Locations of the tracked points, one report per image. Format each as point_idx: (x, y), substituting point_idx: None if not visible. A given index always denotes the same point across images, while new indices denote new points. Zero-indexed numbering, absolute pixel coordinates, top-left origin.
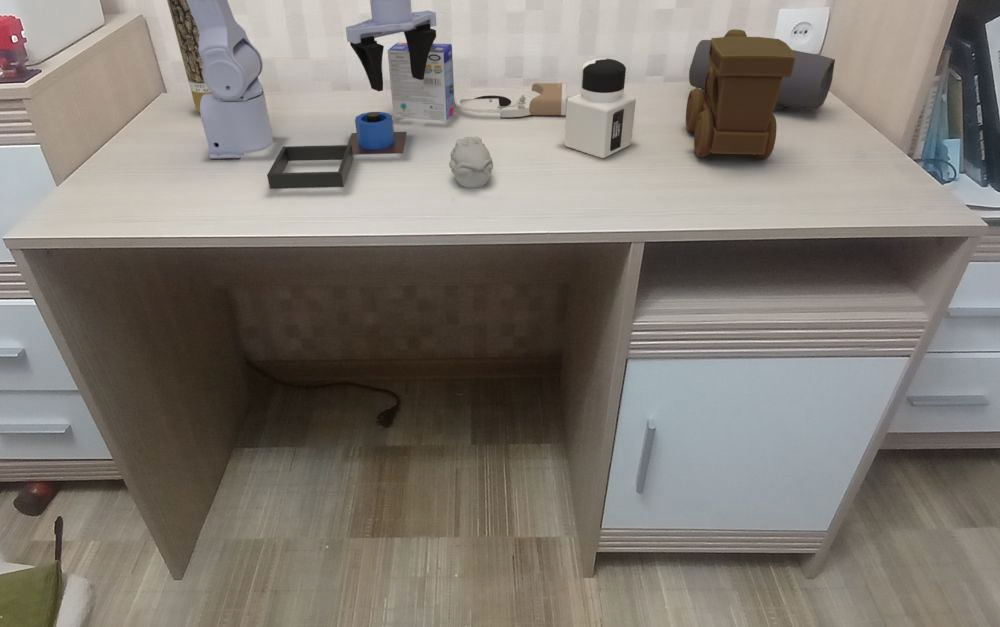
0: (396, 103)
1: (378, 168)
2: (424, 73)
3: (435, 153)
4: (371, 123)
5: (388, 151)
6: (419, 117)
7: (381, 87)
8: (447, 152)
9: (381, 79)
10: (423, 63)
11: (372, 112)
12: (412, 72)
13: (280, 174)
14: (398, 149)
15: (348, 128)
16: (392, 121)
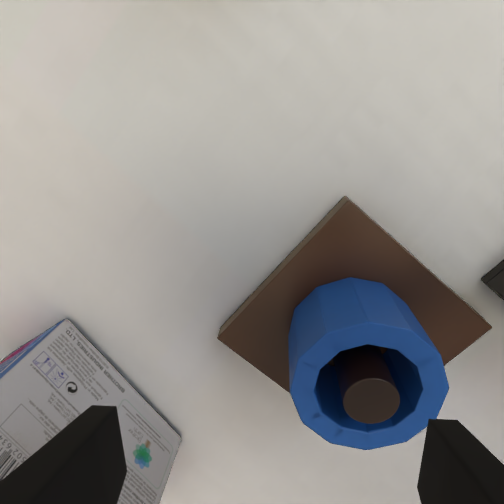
0: (156, 478)
1: (455, 193)
2: (65, 427)
3: (230, 159)
4: (418, 351)
5: (373, 247)
6: (121, 393)
7: (452, 433)
8: (193, 136)
9: (488, 477)
10: (25, 489)
11: (359, 417)
12: (114, 497)
13: None
14: (337, 237)
15: (305, 482)
16: (304, 340)
